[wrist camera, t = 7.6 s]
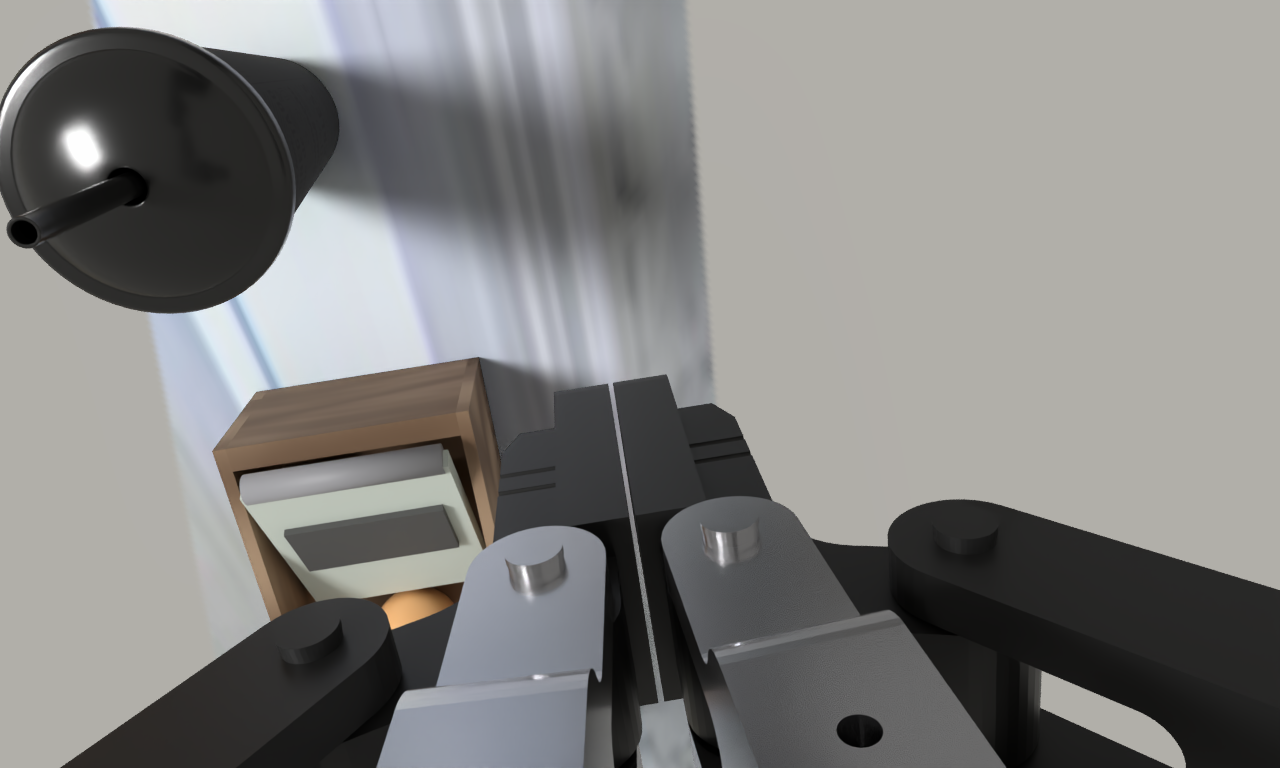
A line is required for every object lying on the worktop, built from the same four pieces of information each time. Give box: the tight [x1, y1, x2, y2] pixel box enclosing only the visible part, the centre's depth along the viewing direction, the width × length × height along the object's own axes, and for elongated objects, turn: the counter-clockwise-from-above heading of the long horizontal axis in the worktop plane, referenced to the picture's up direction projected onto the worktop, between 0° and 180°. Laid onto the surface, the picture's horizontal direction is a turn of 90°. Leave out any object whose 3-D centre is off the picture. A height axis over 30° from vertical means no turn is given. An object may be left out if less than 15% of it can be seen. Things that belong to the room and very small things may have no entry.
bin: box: [212, 357, 501, 621], centre depth 43 cm, size 18×10×6 cm, turn 8°
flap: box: [240, 443, 487, 602], centre depth 40 cm, size 10×8×1 cm
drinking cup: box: [0, 27, 339, 314], centre depth 29 cm, size 8×8×20 cm
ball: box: [381, 587, 454, 630], centre depth 44 cm, size 4×4×4 cm
